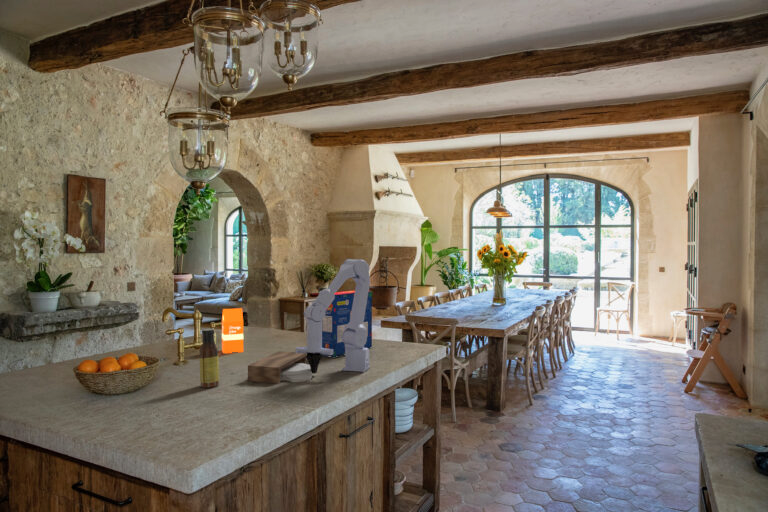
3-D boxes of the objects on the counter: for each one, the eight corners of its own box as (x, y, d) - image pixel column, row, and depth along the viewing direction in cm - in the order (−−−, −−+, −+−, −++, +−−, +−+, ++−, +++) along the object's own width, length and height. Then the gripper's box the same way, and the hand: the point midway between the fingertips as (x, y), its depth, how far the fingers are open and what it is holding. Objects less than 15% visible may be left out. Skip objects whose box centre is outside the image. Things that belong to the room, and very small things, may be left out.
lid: (282, 385, 177) (282, 377, 176) (259, 374, 192) (259, 366, 192) (324, 378, 187) (324, 370, 187) (299, 368, 203) (299, 360, 203)
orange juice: (221, 350, 235) (221, 308, 235) (240, 348, 239) (240, 307, 239) (223, 353, 228) (223, 310, 228) (243, 352, 232) (243, 309, 232)
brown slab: (306, 366, 204) (306, 352, 204) (278, 383, 178) (278, 367, 178) (278, 365, 207) (279, 351, 206) (247, 381, 181) (247, 365, 181)
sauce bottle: (222, 384, 177) (222, 328, 176) (211, 389, 171) (211, 331, 170) (207, 382, 179) (207, 327, 178) (195, 387, 173) (195, 330, 173)
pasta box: (358, 345, 248) (359, 289, 248) (371, 347, 243) (372, 290, 243) (320, 355, 225) (320, 293, 225) (333, 358, 221) (334, 294, 220)
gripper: (292, 337, 187) (292, 374, 187) (329, 339, 183) (328, 376, 184) (299, 334, 194) (299, 369, 194) (335, 336, 190) (335, 372, 190)
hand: (314, 372), depth 189 cm, fingers closed
